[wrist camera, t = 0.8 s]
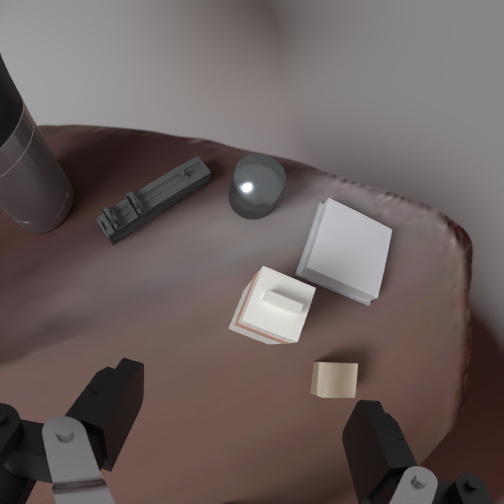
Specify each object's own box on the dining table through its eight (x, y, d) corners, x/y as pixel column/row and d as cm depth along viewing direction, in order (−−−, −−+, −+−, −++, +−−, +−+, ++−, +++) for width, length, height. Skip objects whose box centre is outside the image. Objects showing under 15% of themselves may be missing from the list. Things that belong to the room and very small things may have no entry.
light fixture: (210, 185, 41) (213, 163, 36) (113, 246, 36) (101, 230, 31) (196, 168, 42) (198, 144, 36) (101, 226, 37) (89, 208, 32)
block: (310, 393, 35) (322, 397, 31) (313, 361, 36) (326, 362, 32) (340, 393, 35) (354, 397, 32) (343, 362, 37) (358, 363, 33)
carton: (228, 328, 36) (243, 319, 24) (244, 288, 37) (266, 261, 26) (268, 344, 36) (302, 342, 24) (283, 305, 38) (321, 285, 26)
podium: (294, 275, 39) (302, 268, 36) (318, 203, 43) (326, 193, 40) (367, 305, 39) (379, 302, 37) (383, 235, 43) (394, 228, 40)
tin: (221, 208, 40) (226, 185, 34) (239, 172, 42) (246, 146, 36) (265, 226, 40) (276, 206, 35) (280, 189, 42) (292, 166, 37)
